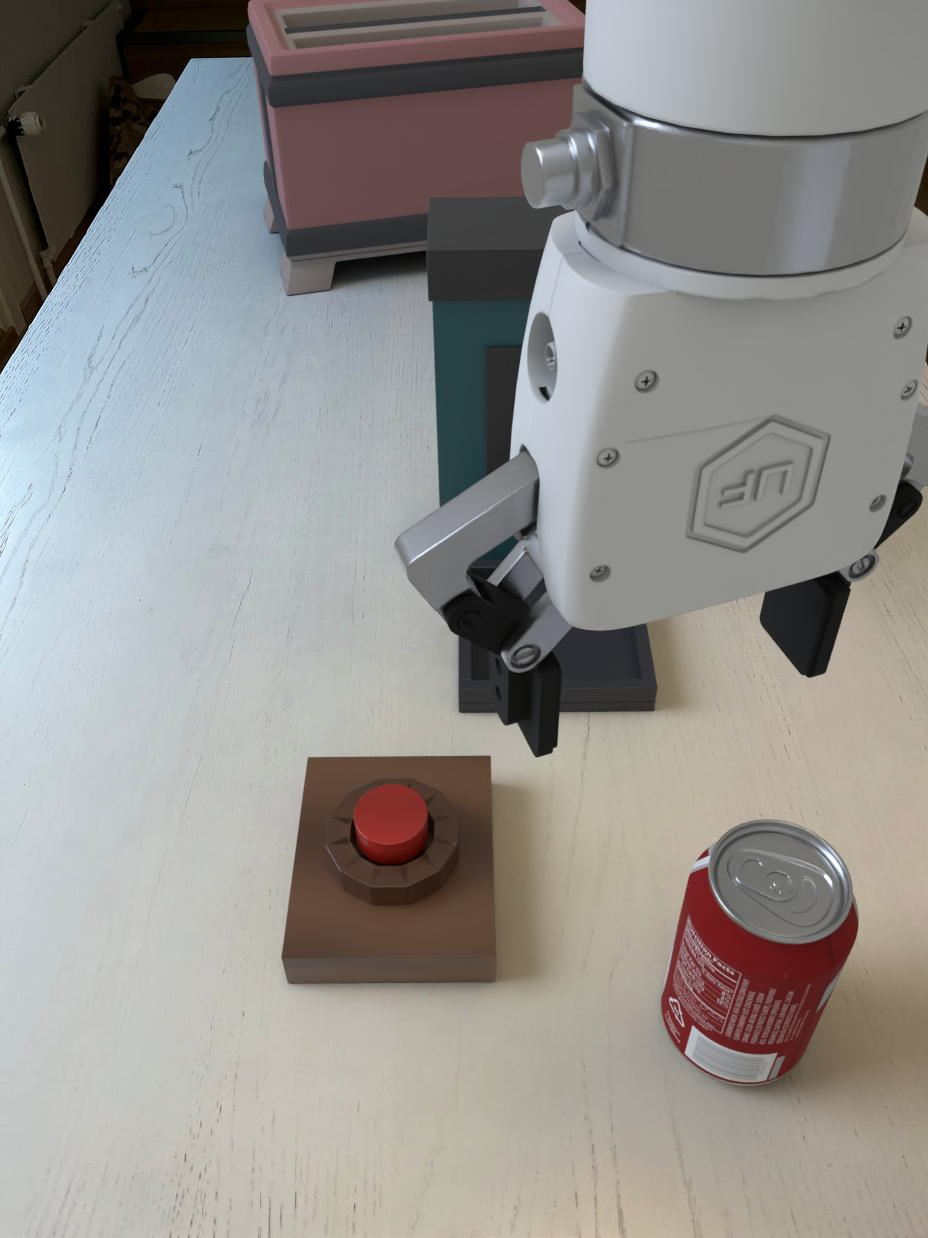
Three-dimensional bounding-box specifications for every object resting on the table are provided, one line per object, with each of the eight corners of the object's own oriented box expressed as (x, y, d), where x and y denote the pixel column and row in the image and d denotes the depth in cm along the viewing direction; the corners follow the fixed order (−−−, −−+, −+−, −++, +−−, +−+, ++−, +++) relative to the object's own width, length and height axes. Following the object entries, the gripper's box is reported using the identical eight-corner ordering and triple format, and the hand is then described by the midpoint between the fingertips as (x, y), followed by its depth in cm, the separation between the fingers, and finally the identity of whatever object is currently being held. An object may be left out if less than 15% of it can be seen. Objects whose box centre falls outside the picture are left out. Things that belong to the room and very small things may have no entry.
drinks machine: (651, 572, 74) (697, 246, 58) (438, 574, 74) (426, 249, 58) (639, 510, 79) (679, 193, 63) (440, 512, 79) (429, 196, 63)
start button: (427, 865, 53) (426, 844, 52) (353, 865, 53) (350, 844, 52) (429, 804, 56) (428, 783, 54) (359, 805, 56) (356, 784, 54)
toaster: (628, 251, 108) (650, 24, 94) (286, 295, 103) (255, 60, 89) (568, 177, 122) (579, -32, 108) (263, 212, 116) (232, -3, 102)
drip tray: (654, 711, 65) (657, 688, 63) (458, 712, 65) (458, 689, 63) (632, 580, 73) (635, 558, 72) (459, 582, 73) (458, 559, 72)
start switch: (495, 982, 52) (495, 939, 50) (287, 983, 52) (276, 940, 50) (490, 782, 61) (490, 736, 58) (312, 783, 61) (304, 737, 58)
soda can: (773, 1123, 47) (835, 989, 39) (634, 1041, 50) (663, 899, 42) (827, 999, 52) (893, 854, 43) (695, 930, 54) (733, 781, 46)
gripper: (431, 305, 20) (454, 850, 32) (1180, 167, 24) (953, 696, 36) (329, 160, 25) (381, 674, 37) (959, 66, 29) (824, 557, 41)
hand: (662, 685), depth 36 cm, fingers open, 9 cm apart
